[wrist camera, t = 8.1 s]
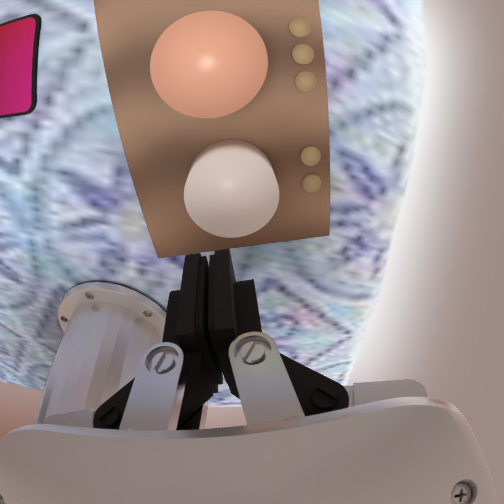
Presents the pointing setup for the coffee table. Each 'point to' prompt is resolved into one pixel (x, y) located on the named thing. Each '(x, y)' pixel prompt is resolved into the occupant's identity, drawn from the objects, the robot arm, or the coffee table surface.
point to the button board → (222, 118)
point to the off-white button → (231, 189)
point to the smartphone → (19, 65)
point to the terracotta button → (208, 64)
